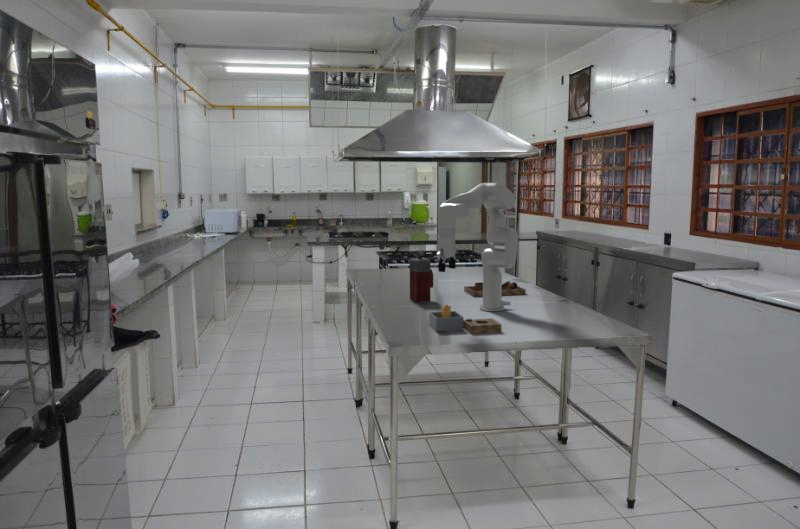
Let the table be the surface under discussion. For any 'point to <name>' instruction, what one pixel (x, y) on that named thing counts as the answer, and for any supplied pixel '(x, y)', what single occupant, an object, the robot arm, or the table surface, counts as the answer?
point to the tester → (481, 326)
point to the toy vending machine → (420, 278)
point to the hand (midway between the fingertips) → (447, 270)
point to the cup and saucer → (478, 287)
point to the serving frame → (504, 292)
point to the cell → (446, 311)
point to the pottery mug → (512, 285)
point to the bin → (446, 321)
